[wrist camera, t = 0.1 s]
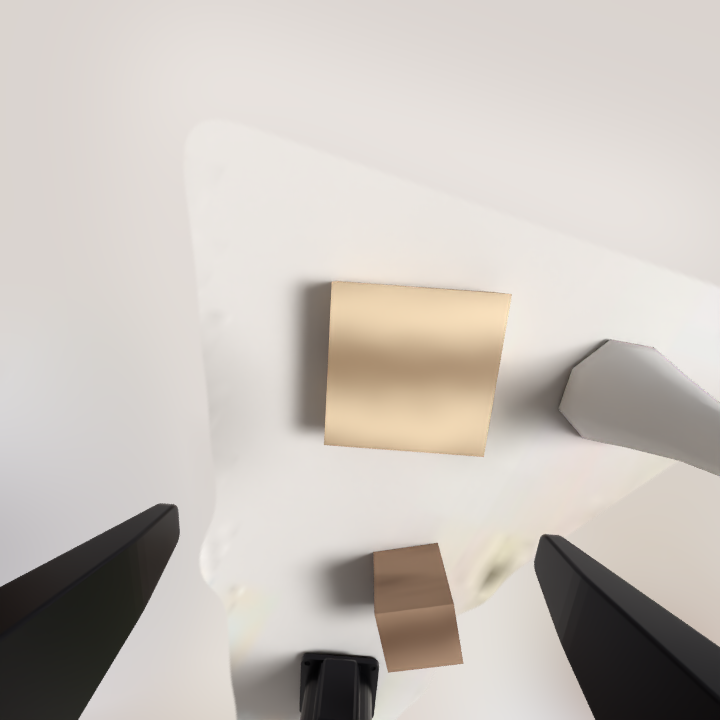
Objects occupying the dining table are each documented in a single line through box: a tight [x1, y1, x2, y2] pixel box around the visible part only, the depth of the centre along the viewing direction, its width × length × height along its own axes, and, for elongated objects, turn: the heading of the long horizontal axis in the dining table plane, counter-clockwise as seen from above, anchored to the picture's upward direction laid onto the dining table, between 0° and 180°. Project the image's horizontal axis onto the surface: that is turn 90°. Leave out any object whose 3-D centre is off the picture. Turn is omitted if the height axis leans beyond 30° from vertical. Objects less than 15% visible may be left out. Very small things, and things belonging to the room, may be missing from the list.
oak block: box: [324, 281, 512, 457], centre depth 21 cm, size 10×10×3 cm
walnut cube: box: [373, 543, 463, 672], centre depth 24 cm, size 5×5×5 cm
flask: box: [559, 339, 720, 476], centre depth 18 cm, size 7×7×10 cm
